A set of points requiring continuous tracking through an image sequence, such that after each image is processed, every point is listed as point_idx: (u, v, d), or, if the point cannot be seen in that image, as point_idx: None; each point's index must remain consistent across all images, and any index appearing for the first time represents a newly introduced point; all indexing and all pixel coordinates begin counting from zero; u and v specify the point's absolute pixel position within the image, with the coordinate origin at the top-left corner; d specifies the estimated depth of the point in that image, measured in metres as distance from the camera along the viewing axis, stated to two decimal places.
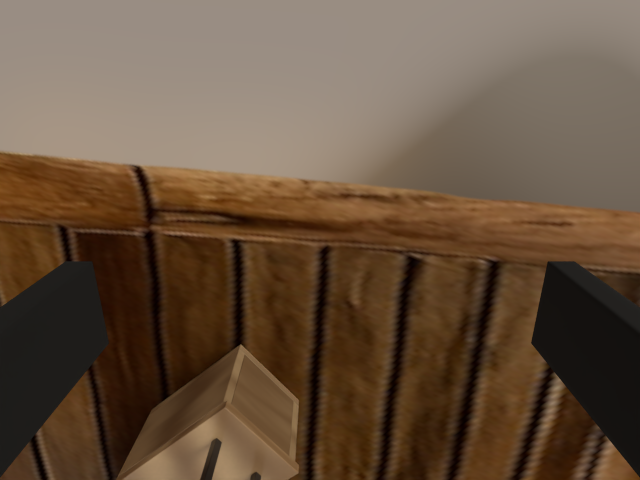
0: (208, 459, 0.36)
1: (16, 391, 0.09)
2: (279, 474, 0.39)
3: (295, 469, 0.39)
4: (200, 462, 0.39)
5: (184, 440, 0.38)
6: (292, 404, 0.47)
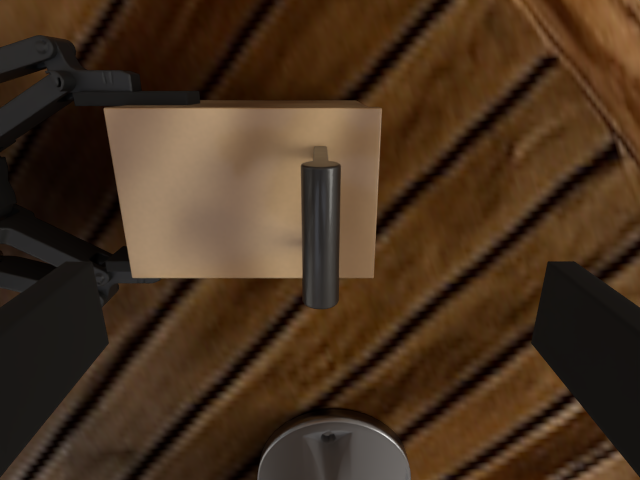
0: (321, 152, 0.21)
1: (16, 391, 0.09)
2: (350, 262, 0.25)
3: (373, 270, 0.25)
4: (269, 167, 0.23)
5: (278, 116, 0.22)
6: None
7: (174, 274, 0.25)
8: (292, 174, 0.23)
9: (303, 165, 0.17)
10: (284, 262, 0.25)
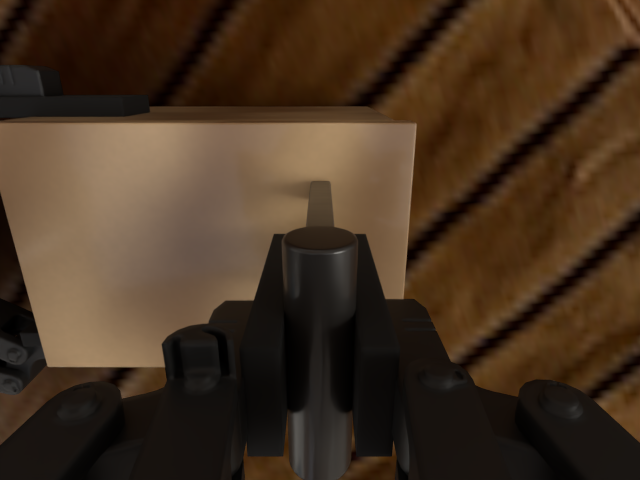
0: (322, 196, 0.13)
1: None
2: None
3: None
4: (242, 212, 0.15)
5: (255, 135, 0.14)
6: None
7: (108, 362, 0.17)
8: (278, 222, 0.15)
9: (287, 242, 0.09)
10: None
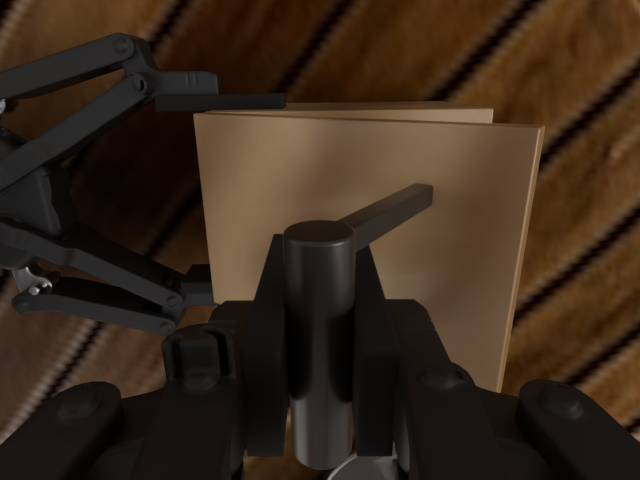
0: (397, 198, 0.12)
1: None
2: None
3: None
4: (350, 205, 0.16)
5: (367, 132, 0.15)
6: None
7: None
8: None
9: (286, 229, 0.09)
10: None
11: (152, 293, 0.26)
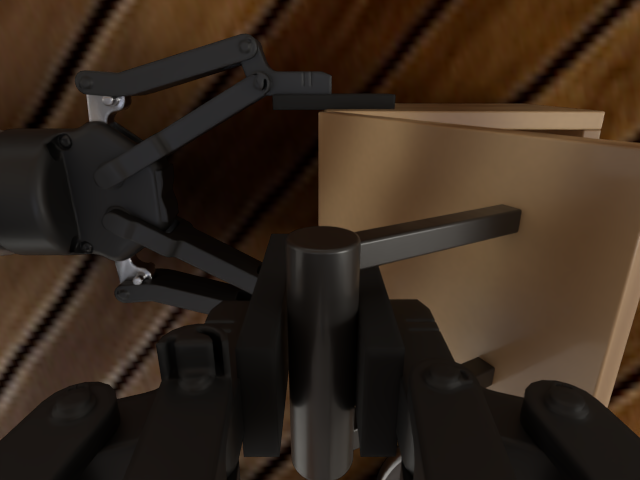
0: (457, 217, 0.11)
1: (287, 330, 0.11)
2: None
3: None
4: None
5: (459, 141, 0.13)
6: None
7: None
8: None
9: (295, 230, 0.09)
10: None
11: (250, 285, 0.26)
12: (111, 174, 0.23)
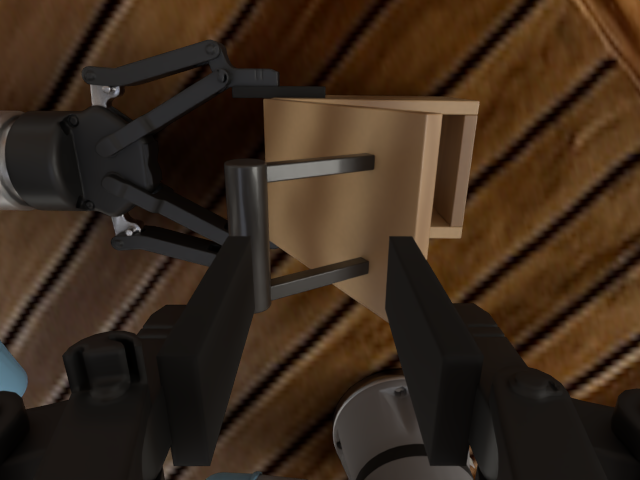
0: (331, 157, 0.18)
1: (232, 335, 0.11)
2: None
3: None
4: None
5: (343, 114, 0.20)
6: None
7: (284, 247, 0.29)
8: (349, 180, 0.21)
9: (230, 160, 0.17)
10: None
11: (218, 237, 0.34)
12: (109, 146, 0.30)
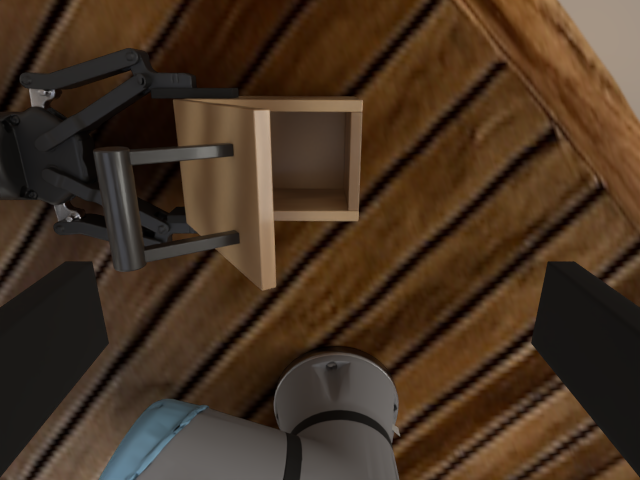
0: (192, 146, 0.22)
1: (17, 391, 0.09)
2: (250, 265, 0.25)
3: (263, 283, 0.24)
4: None
5: (215, 111, 0.25)
6: None
7: (195, 228, 0.33)
8: (223, 166, 0.25)
9: None
10: None
11: (148, 223, 0.38)
12: (45, 142, 0.35)
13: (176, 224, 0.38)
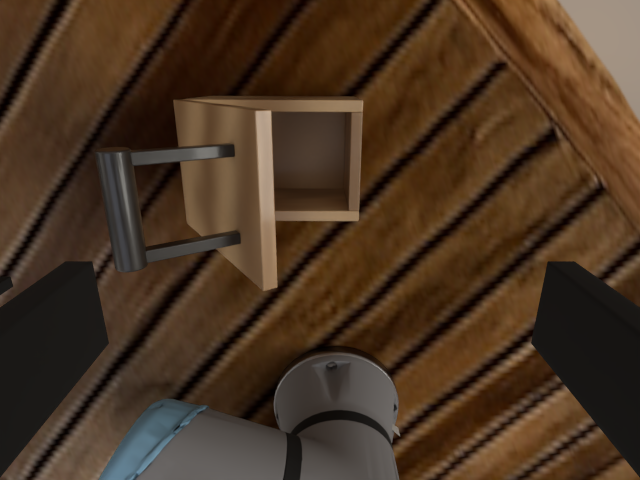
0: (193, 146, 0.22)
1: (17, 391, 0.09)
2: (251, 266, 0.25)
3: (264, 284, 0.24)
4: None
5: (216, 112, 0.25)
6: None
7: (196, 229, 0.33)
8: (224, 166, 0.25)
9: (103, 148, 0.21)
10: None
11: None
12: None
13: None
